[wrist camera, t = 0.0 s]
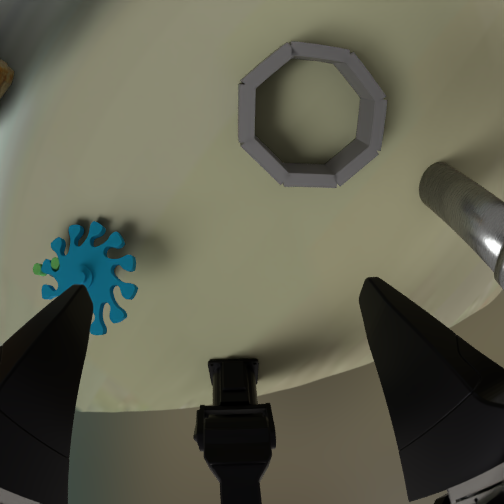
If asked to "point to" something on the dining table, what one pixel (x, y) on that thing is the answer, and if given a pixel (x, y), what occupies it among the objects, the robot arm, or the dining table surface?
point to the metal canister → (467, 212)
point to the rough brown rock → (5, 77)
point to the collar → (347, 158)
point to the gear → (90, 272)
